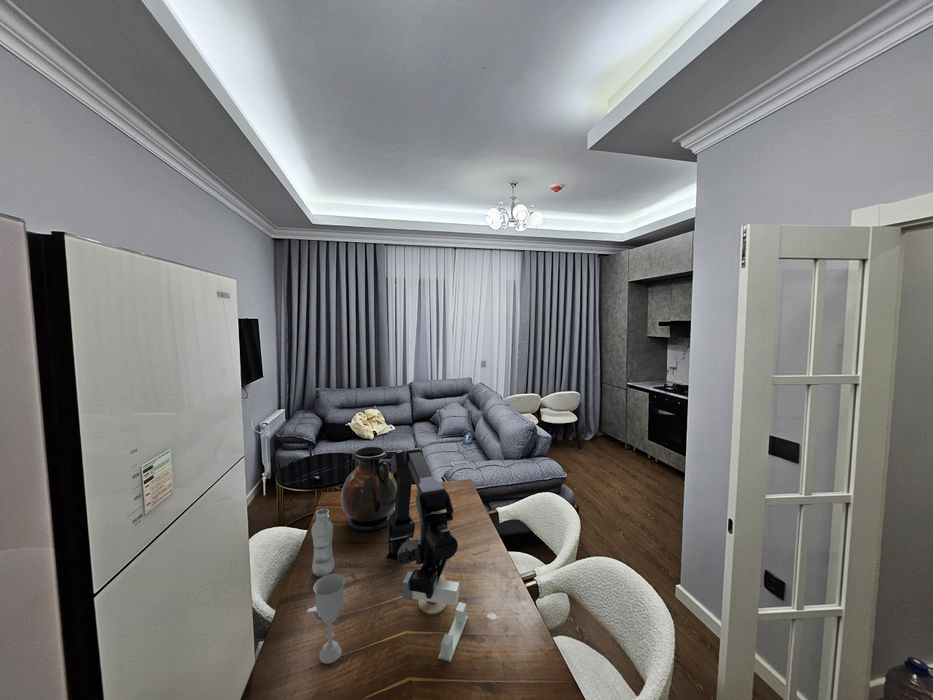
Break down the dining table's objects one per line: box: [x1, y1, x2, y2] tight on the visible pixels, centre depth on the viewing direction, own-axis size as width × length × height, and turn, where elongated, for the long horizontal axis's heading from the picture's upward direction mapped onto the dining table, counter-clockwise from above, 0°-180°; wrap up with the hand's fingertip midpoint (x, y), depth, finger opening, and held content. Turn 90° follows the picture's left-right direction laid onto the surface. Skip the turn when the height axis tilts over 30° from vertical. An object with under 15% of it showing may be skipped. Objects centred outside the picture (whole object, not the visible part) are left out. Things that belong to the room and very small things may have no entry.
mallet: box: [401, 571, 460, 607], centre depth 101 cm, size 14×4×4 cm, turn 79°
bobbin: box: [417, 573, 447, 615], centre depth 111 cm, size 8×8×7 cm
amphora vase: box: [340, 446, 397, 532], centre depth 151 cm, size 22×22×28 cm
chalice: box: [312, 573, 346, 664], centre depth 93 cm, size 7×7×18 cm
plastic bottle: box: [310, 508, 335, 578], centre depth 122 cm, size 6×7×20 cm
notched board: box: [438, 601, 469, 663], centre depth 99 cm, size 3×14×4 cm, turn 163°
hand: (431, 593), depth 101 cm, fingers closed on mallet, 3 cm apart
